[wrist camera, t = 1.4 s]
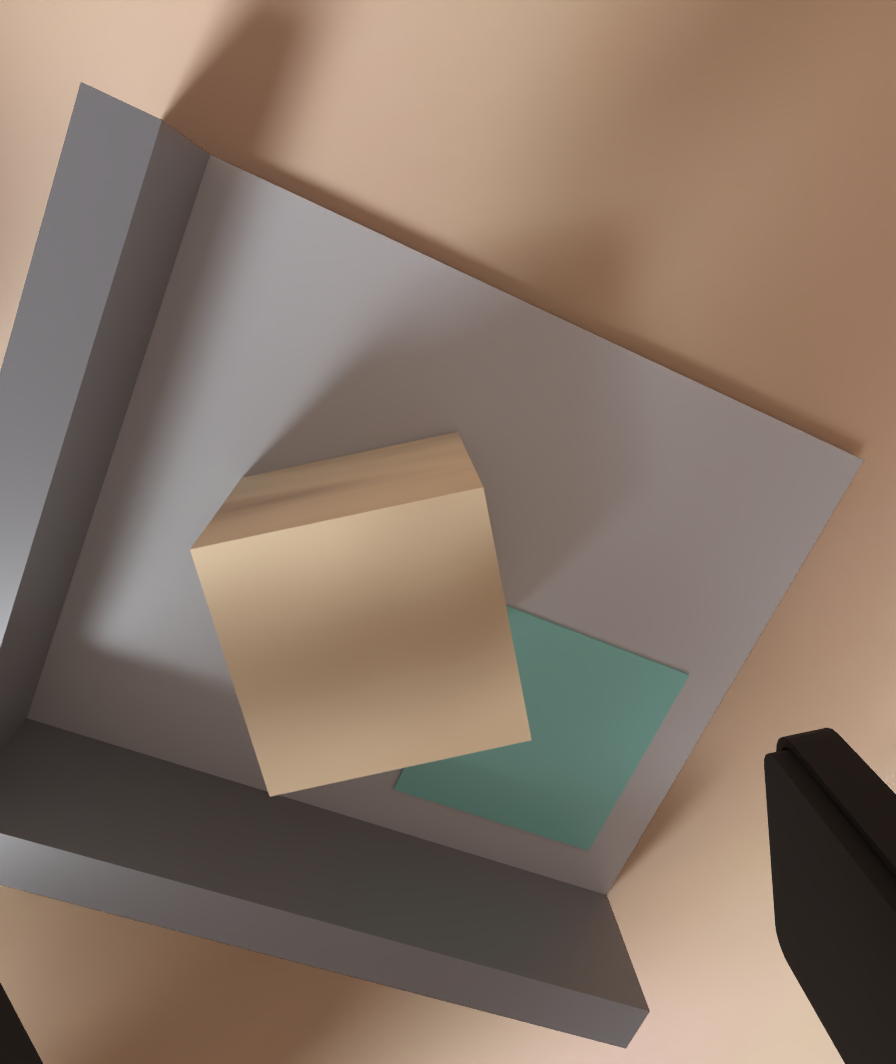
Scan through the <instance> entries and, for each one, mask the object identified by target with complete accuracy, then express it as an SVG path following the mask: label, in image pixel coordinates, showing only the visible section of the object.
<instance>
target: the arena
mask: <svg viewBox="0 0 896 1064" xmlns="http://www.w3.org/2000/svg"><path fill="white" fill-rule="evenodd" d="M454 432H458V434H459V436H460V438H461V440H462V442H463V444H464V446H465V449H466V451H467V453H468V455H469V457H470V459H471V461H472V464H473V466H474V468H475V470H476V472H477V474H478V476H479V479H480V481H481V483H482V485H483V487H484V493H485V498H486V503H487V508H488V514H489V519H490V524H491V529H492V535H493V540H494V545H495V550H496V556H497V561H498V566H499V571H500V577H501V582H502V587H503V592H504V598H505V603H506V608H507V613H508V619H509V624H510V629H511V634H512V640H513V645H514V650H515V655H516V661H517V666H518V671H519V676H520V682H521V687H522V692H523V697H524V703H525V708H526V713H527V718H528V724H529V729H530V734H531V739H532V740H530V741H526V742H521V743H517V744H512V745H507V746H503V747H498V748H493V749H489V750H484V751H479V752H475V753H470V754H466V755H461V756H456V757H452V758H447V759H442V760H438V761H433V762H429V763H424V764H419V765H415V766H410V767H405V768H401V769H396V770H391V771H387V772H382V773H378V774H373V775H368V776H364V777H359V778H354V779H350V780H345V781H340V782H336V783H331V784H327V785H322V786H317V787H313V788H308V789H303V790H299V791H294V792H289V793H285V794H280V795H276V796H271V797H270V796H269V793H268V790H267V787H266V784H265V781H264V778H263V775H262V772H261V768H260V765H259V762H258V759H257V756H256V753H255V750H254V747H253V744H252V741H251V737H250V734H249V731H248V728H247V725H246V722H245V719H244V716H243V713H242V710H241V706H240V703H239V700H238V697H237V694H236V691H235V688H234V685H233V682H232V679H231V675H230V672H229V669H228V666H227V663H226V660H225V657H224V654H223V651H222V648H221V645H220V641H219V638H218V635H217V632H216V629H215V626H214V623H213V620H212V617H211V614H210V610H209V607H208V604H207V601H206V598H205V595H204V592H203V589H202V586H201V583H200V579H199V576H198V573H197V570H196V567H195V564H194V561H193V558H192V555H191V552H190V549H191V547H192V546H193V544H194V543H195V542H196V540H197V539H198V537H199V536H200V535H201V533H202V532H203V531H204V529H205V528H206V526H207V525H208V524H209V522H210V521H211V519H212V518H213V517H214V515H215V514H216V513H217V511H218V510H219V508H220V507H221V506H222V504H223V503H224V501H225V500H226V499H227V497H228V496H229V495H230V493H231V492H232V490H233V489H234V488H235V486H236V485H237V483H238V482H239V481H240V479H241V478H242V477H246V476H251V475H255V474H260V473H265V472H270V471H274V470H279V469H284V468H288V467H293V466H298V465H303V464H307V463H312V462H317V461H322V460H326V459H331V458H336V457H340V456H345V455H350V454H355V453H359V452H364V451H369V450H373V449H378V448H383V447H388V446H392V445H397V444H402V443H407V442H411V441H416V440H421V439H425V438H430V437H435V436H440V435H444V434H449V433H454ZM863 461H864V460H863V459H860V458H858V457H856V456H854V455H852V454H850V453H848V452H845V451H843V450H841V449H839V448H837V447H835V446H833V445H831V444H828V443H826V442H824V441H822V440H820V439H818V438H816V437H813V436H811V435H809V434H807V433H805V432H803V431H801V430H798V429H796V428H794V427H792V426H790V425H788V424H786V423H783V422H781V421H779V420H777V419H775V418H773V417H771V416H768V415H766V414H764V413H762V412H760V411H758V410H756V409H753V408H751V407H749V406H747V405H745V404H743V403H741V402H739V401H736V400H734V399H732V398H730V397H728V396H726V395H724V394H721V393H719V392H717V391H715V390H713V389H711V388H709V387H706V386H704V385H702V384H700V383H698V382H696V381H694V380H691V379H689V378H687V377H685V376H683V375H681V374H679V373H676V372H674V371H672V370H670V369H668V368H666V367H664V366H662V365H659V364H657V363H655V362H653V361H651V360H649V359H647V358H644V357H642V356H640V355H638V354H636V353H634V352H632V351H629V350H627V349H625V348H623V347H621V346H619V345H617V344H614V343H612V342H610V341H608V340H606V339H604V338H602V337H599V336H597V335H595V334H593V333H591V332H589V331H587V330H584V329H582V328H580V327H578V326H576V325H574V324H572V323H570V322H567V321H565V320H563V319H561V318H559V317H557V316H555V315H552V314H550V313H548V312H546V311H544V310H542V309H540V308H537V307H535V306H533V305H531V304H529V303H527V302H525V301H522V300H520V299H518V298H516V297H514V296H512V295H510V294H507V293H505V292H503V291H501V290H499V289H497V288H495V287H493V286H490V285H488V284H486V283H484V282H482V281H480V280H478V279H475V278H473V277H471V276H469V275H467V274H465V273H463V272H460V271H458V270H456V269H454V268H452V267H450V266H448V265H445V264H443V263H441V262H439V261H437V260H435V259H433V258H430V257H428V256H426V255H424V254H422V253H420V252H418V251H415V250H413V249H411V248H409V247H407V246H405V245H403V244H401V243H398V242H396V241H394V240H392V239H390V238H388V237H386V236H383V235H381V234H379V233H377V232H375V231H373V230H371V229H368V228H366V227H364V226H362V225H360V224H358V223H356V222H353V221H351V220H349V219H347V218H345V217H343V216H341V215H338V214H336V213H334V212H332V211H330V210H328V209H326V208H323V207H321V206H319V205H317V204H315V203H313V202H311V201H309V200H306V199H304V198H302V197H300V196H298V195H296V194H294V193H291V192H289V191H287V190H285V189H283V188H281V187H279V186H276V185H274V184H272V183H270V182H268V181H266V180H264V179H261V178H259V177H257V176H255V175H253V174H251V173H249V172H246V171H244V170H242V169H240V168H238V167H236V166H234V165H232V164H229V163H227V162H225V161H223V160H221V159H219V158H217V157H214V156H212V155H210V154H209V153H207V152H206V151H204V150H203V149H202V148H200V147H199V146H198V145H196V144H195V143H193V142H192V141H191V140H189V139H188V138H186V137H185V136H184V135H182V134H181V133H179V132H178V131H177V130H175V129H174V128H172V127H171V126H170V125H168V124H167V123H165V122H164V121H163V120H161V119H159V118H157V117H154V116H152V115H150V114H148V113H146V112H144V111H142V110H140V109H137V108H135V107H133V106H131V105H129V104H127V103H125V102H123V101H120V100H118V99H116V98H114V97H112V96H110V95H108V94H106V93H103V92H101V91H99V90H97V89H95V88H93V87H91V86H89V85H86V84H84V83H82V82H81V84H80V87H79V91H78V94H77V98H76V102H75V105H74V109H73V112H72V116H71V120H70V123H69V127H68V130H67V134H66V138H65V141H64V145H63V148H62V152H61V156H60V159H59V163H58V167H57V170H56V174H55V177H54V181H53V185H52V188H51V192H50V195H49V199H48V203H47V206H46V210H45V213H44V217H43V221H42V224H41V228H40V231H39V235H38V239H37V242H36V246H35V249H34V253H33V257H32V260H31V264H30V267H29V271H28V275H27V278H26V282H25V285H24V289H23V293H22V296H21V300H20V303H19V307H18V311H17V314H16V318H15V322H14V325H13V329H12V332H11V336H10V340H9V343H8V347H7V350H6V354H5V358H4V361H3V365H2V368H1V372H0V885H3V886H7V887H10V888H14V889H18V890H22V891H26V892H30V893H33V894H37V895H41V896H45V897H49V898H52V899H56V900H60V901H64V902H68V903H72V904H75V905H79V906H83V907H87V908H91V909H95V910H98V911H102V912H106V913H110V914H114V915H117V916H121V917H125V918H129V919H133V920H137V921H140V922H144V923H148V924H152V925H156V926H160V927H163V928H167V929H171V930H175V931H179V932H182V933H186V934H190V935H194V936H198V937H202V938H205V939H209V940H213V941H217V942H221V943H225V944H228V945H232V946H236V947H240V948H244V949H248V950H251V951H255V952H259V953H263V954H267V955H270V956H274V957H278V958H282V959H286V960H290V961H293V962H297V963H301V964H305V965H309V966H313V967H316V968H320V969H324V970H328V971H332V972H335V973H339V974H343V975H347V976H351V977H355V978H358V979H362V980H366V981H370V982H374V983H378V984H381V985H385V986H389V987H393V988H397V989H400V990H404V991H408V992H412V993H416V994H420V995H423V996H427V997H431V998H435V999H439V1000H443V1001H446V1002H450V1003H454V1004H458V1005H462V1006H465V1007H469V1008H473V1009H477V1010H481V1011H485V1012H488V1013H492V1014H496V1015H500V1016H504V1017H508V1018H511V1019H515V1020H519V1021H523V1022H527V1023H530V1024H534V1025H538V1026H542V1027H546V1028H550V1029H553V1030H557V1031H561V1032H565V1033H569V1034H573V1035H576V1036H580V1037H584V1038H588V1039H592V1040H595V1041H599V1042H603V1043H607V1044H611V1045H615V1046H618V1047H622V1048H627V1046H628V1044H629V1043H630V1041H631V1040H632V1038H633V1037H634V1035H635V1033H636V1032H637V1030H638V1029H639V1027H640V1026H641V1024H642V1023H643V1021H644V1019H645V1018H646V1016H647V1015H648V1013H649V1012H650V1011H649V1008H648V1005H647V1003H646V1000H645V997H644V995H643V992H642V989H641V986H640V984H639V981H638V978H637V976H636V973H635V970H634V968H633V965H632V962H631V960H630V957H629V954H628V951H627V949H626V946H625V943H624V941H623V938H622V935H621V933H620V930H619V927H618V925H617V922H616V919H615V916H614V914H613V911H612V908H611V906H610V903H609V900H608V898H607V893H608V892H609V890H610V888H611V887H612V885H613V883H614V882H615V880H616V878H617V876H618V875H619V873H620V871H621V870H622V868H623V866H624V865H625V863H626V861H627V860H628V858H629V856H630V854H631V853H632V851H633V849H634V848H635V846H636V844H637V843H638V841H639V839H640V838H641V836H642V834H643V833H644V831H645V829H646V827H647V826H648V824H649V822H650V821H651V819H652V817H653V816H654V814H655V812H656V811H657V809H658V807H659V805H660V804H661V802H662V800H663V799H664V797H665V795H666V794H667V792H668V790H669V789H670V787H671V785H672V784H673V782H674V780H675V778H676V777H677V775H678V773H679V772H680V770H681V768H682V767H683V765H684V763H685V762H686V760H687V758H688V756H689V755H690V753H691V751H692V750H693V748H694V746H695V745H696V743H697V741H698V740H699V738H700V736H701V735H702V733H703V731H704V729H705V728H706V726H707V724H708V723H709V721H710V719H711V718H712V716H713V714H714V713H715V711H716V709H717V707H718V706H719V704H720V702H721V701H722V699H723V697H724V696H725V694H726V692H727V691H728V689H729V687H730V685H731V684H732V682H733V680H734V679H735V677H736V675H737V674H738V672H739V670H740V669H741V667H742V665H743V664H744V662H745V660H746V658H747V657H748V655H749V653H750V652H751V650H752V648H753V647H754V645H755V643H756V642H757V640H758V638H759V636H760V635H761V633H762V631H763V630H764V628H765V626H766V625H767V623H768V621H769V620H770V618H771V616H772V615H773V613H774V611H775V609H776V608H777V606H778V604H779V603H780V601H781V599H782V598H783V596H784V594H785V593H786V591H787V589H788V587H789V586H790V584H791V582H792V581H793V579H794V577H795V576H796V574H797V572H798V571H799V569H800V567H801V566H802V564H803V562H804V560H805V559H806V557H807V555H808V554H809V552H810V550H811V549H812V547H813V545H814V544H815V542H816V540H817V538H818V537H819V535H820V533H821V532H822V530H823V528H824V527H825V525H826V523H827V522H828V520H829V518H830V517H831V515H832V513H833V511H834V510H835V508H836V506H837V505H838V503H839V501H840V500H841V498H842V496H843V495H844V493H845V491H846V489H847V488H848V486H849V484H850V483H851V481H852V479H853V478H854V476H855V474H856V473H857V471H858V469H859V468H860V466H861V464H862V462H863Z"/></svg>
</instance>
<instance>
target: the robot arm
mask: <svg viewBox="0 0 896 1064" xmlns="http://www.w3.org/2000/svg"><path fill="white" fill-rule="evenodd" d="M764 770H765V784H766V798H767V813H768V827H769V841H770V856H771V870H772V884H773V898H774V913H775V926H776V933H777V937H778V940H779V943H780V946H781V949H782V952H783V954H784V957H785V959H786V961H787V962H788V964H789V966H790V968H791V970H792V971H793V973H794V975H795V977H796V978H797V980H798V982H799V984H800V985H801V987H802V989H803V991H804V992H805V994H806V996H807V998H808V1000H809V1001H810V1003H811V1005H812V1007H813V1008H814V1010H815V1012H816V1014H817V1015H818V1017H819V1019H820V1021H821V1022H822V1024H823V1026H824V1028H825V1029H826V1031H827V1033H828V1035H829V1036H830V1038H831V1040H832V1042H833V1043H834V1045H835V1047H836V1049H837V1050H838V1052H839V1054H840V1056H841V1057H842V1059H843V1061H844V1063H845V1064H896V794H895V793H894V792H893V791H892V790H891V789H890V788H889V787H888V786H887V785H886V784H885V783H884V782H883V781H882V780H881V778H880V777H879V776H878V775H877V774H876V773H875V772H874V771H873V770H872V769H871V768H870V767H869V766H868V765H867V764H866V763H865V762H864V761H863V760H862V758H861V757H860V756H859V755H858V754H857V753H856V752H855V751H854V750H853V749H852V748H851V747H850V746H849V745H848V744H847V743H846V742H845V741H844V740H843V738H842V737H841V736H840V735H839V734H838V733H836V732H835V731H834V730H833V729H830V728H823V729H818V730H814V731H809V732H804V733H800V734H795V735H790V736H786V737H782V738H780V739H779V740H778V742H777V750H776V752H774V753H769V754H767V755H766V756H765V759H764ZM0 1064H43V1063H42V1061H41V1059H40V1057H39V1055H38V1053H37V1051H36V1049H35V1048H34V1046H33V1044H32V1042H31V1040H30V1038H29V1036H28V1034H27V1032H26V1030H25V1029H24V1027H23V1025H22V1023H21V1021H20V1019H19V1017H18V1015H17V1013H16V1011H15V1010H14V1008H13V1006H12V1004H11V1002H10V1000H9V998H8V996H7V994H6V993H5V991H4V989H3V987H2V985H1V983H0Z"/></svg>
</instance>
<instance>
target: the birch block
mask: <svg viewBox="0 0 896 1064" xmlns="http://www.w3.org/2000/svg"><path fill="white" fill-rule="evenodd" d="M190 552H191V555H192V558H193V561H194V564H195V567H196V570H197V573H198V576H199V579H200V583H201V586H202V589H203V592H204V595H205V598H206V601H207V604H208V607H209V610H210V614H211V617H212V620H213V623H214V626H215V629H216V632H217V635H218V638H219V641H220V645H221V648H222V651H223V654H224V657H225V660H226V663H227V666H228V669H229V672H230V675H231V679H232V682H233V685H234V688H235V691H236V694H237V697H238V700H239V703H240V706H241V710H242V713H243V716H244V719H245V722H246V725H247V728H248V731H249V734H250V737H251V741H252V744H253V747H254V750H255V753H256V756H257V759H258V762H259V765H260V768H261V772H262V775H263V778H264V781H265V784H266V787H267V790H268V793H269V796H270V797H271V796H276V795H280V794H285V793H289V792H294V791H299V790H303V789H308V788H313V787H317V786H322V785H327V784H331V783H336V782H340V781H345V780H350V779H354V778H359V777H364V776H368V775H373V774H378V773H382V772H387V771H391V770H396V769H401V768H405V767H410V766H415V765H419V764H424V763H429V762H433V761H438V760H442V759H447V758H452V757H456V756H461V755H466V754H470V753H475V752H479V751H484V750H489V749H493V748H498V747H503V746H507V745H512V744H517V743H521V742H526V741H530V740H532V739H531V734H530V729H529V724H528V718H527V713H526V708H525V703H524V697H523V692H522V687H521V682H520V676H519V671H518V666H517V661H516V655H515V650H514V645H513V640H512V634H511V629H510V624H509V619H508V613H507V608H506V603H505V598H504V592H503V587H502V582H501V577H500V571H499V566H498V561H497V556H496V550H495V545H494V540H493V535H492V529H491V524H490V519H489V514H488V508H487V503H486V498H485V493H484V487H483V485H482V483H481V481H480V479H479V476H478V474H477V472H476V470H475V468H474V466H473V464H472V461H471V459H470V457H469V455H468V453H467V451H466V449H465V446H464V444H463V442H462V440H461V438H460V436H459V434H458V432H454V433H449V434H444V435H440V436H435V437H430V438H425V439H421V440H416V441H411V442H407V443H402V444H397V445H392V446H388V447H383V448H378V449H373V450H369V451H364V452H359V453H355V454H350V455H345V456H340V457H336V458H331V459H326V460H322V461H317V462H312V463H307V464H303V465H298V466H293V467H288V468H284V469H279V470H274V471H270V472H265V473H260V474H255V475H251V476H246V477H242V478H241V479H240V481H239V482H238V483H237V485H236V486H235V488H234V489H233V490H232V492H231V493H230V495H229V496H228V497H227V499H226V500H225V501H224V503H223V504H222V506H221V507H220V508H219V510H218V511H217V513H216V514H215V515H214V517H213V518H212V519H211V521H210V522H209V524H208V525H207V526H206V528H205V529H204V531H203V532H202V533H201V535H200V536H199V537H198V539H197V540H196V542H195V543H194V544H193V546H192V547H191V549H190Z"/></svg>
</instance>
